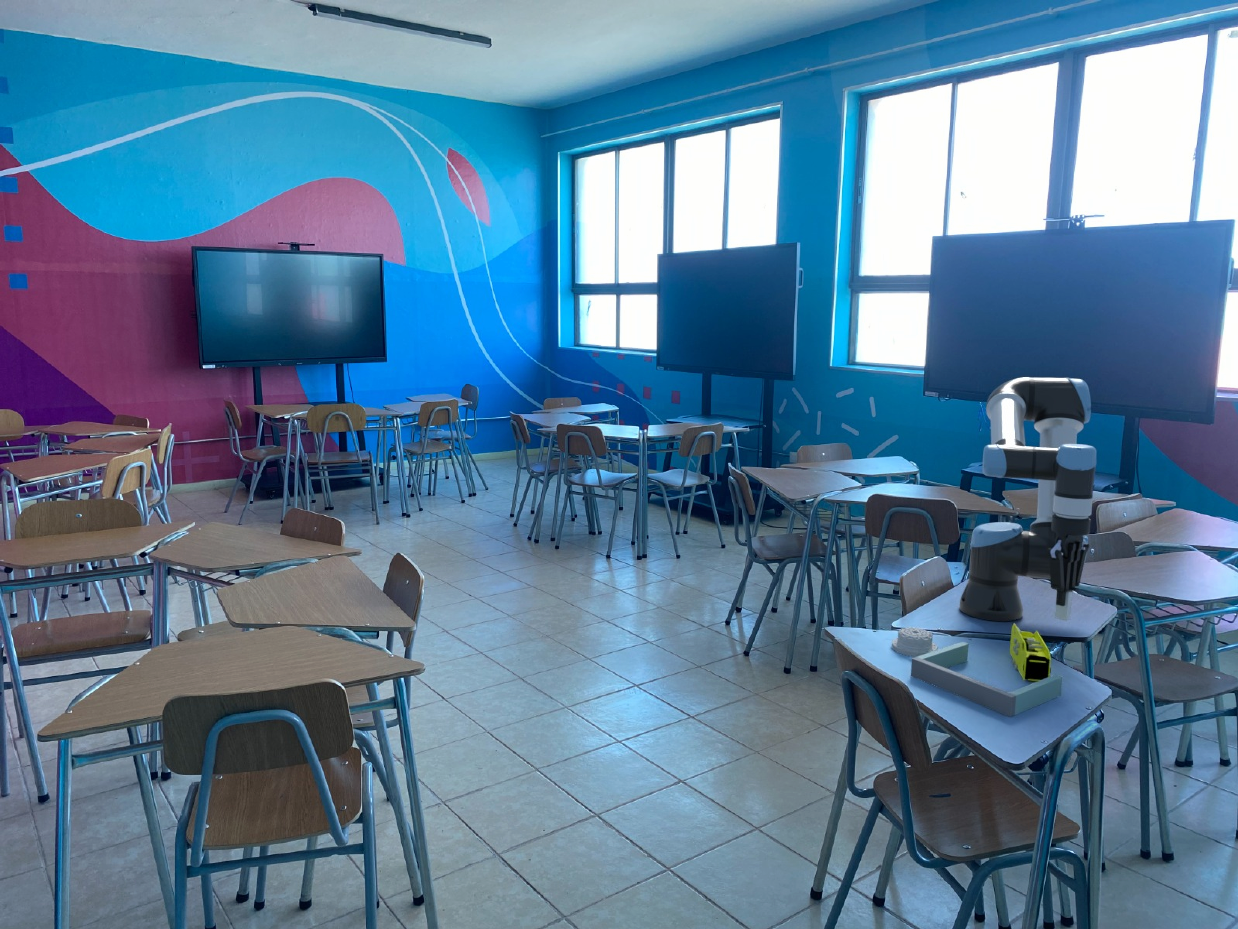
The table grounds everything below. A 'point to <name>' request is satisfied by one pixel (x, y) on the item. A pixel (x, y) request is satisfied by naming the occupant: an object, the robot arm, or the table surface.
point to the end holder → (1009, 704)
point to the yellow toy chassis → (1030, 655)
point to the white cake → (914, 642)
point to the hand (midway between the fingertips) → (1062, 618)
